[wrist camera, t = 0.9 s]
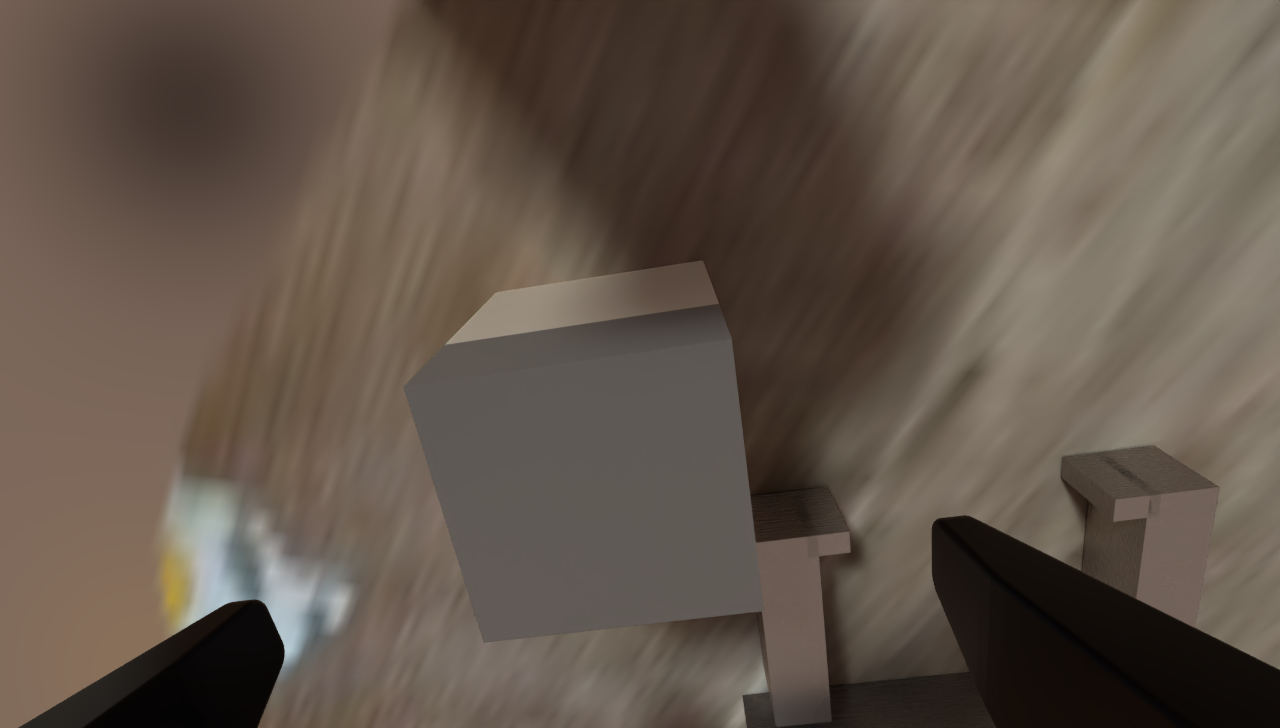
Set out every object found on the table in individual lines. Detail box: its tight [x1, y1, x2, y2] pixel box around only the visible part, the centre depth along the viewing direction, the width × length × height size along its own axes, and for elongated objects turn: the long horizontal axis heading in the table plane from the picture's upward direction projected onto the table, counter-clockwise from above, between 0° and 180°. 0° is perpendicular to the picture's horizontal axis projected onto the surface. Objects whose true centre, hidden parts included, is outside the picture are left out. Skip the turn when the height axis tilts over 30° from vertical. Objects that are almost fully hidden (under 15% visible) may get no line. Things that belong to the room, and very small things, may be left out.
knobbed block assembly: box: [743, 446, 1220, 728], centre depth 16 cm, size 11×12×5 cm
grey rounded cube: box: [404, 260, 764, 642], centre depth 13 cm, size 5×5×6 cm
